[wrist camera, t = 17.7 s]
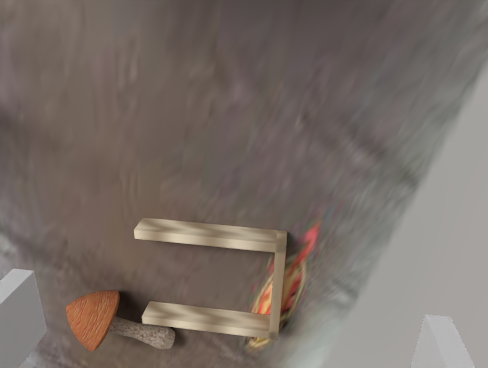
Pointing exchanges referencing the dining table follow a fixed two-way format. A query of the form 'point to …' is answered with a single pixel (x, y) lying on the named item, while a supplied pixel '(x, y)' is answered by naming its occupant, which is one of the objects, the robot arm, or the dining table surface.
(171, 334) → the mushroom
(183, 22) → the dining table surface
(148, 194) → the dining table surface
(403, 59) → the dining table surface
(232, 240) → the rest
